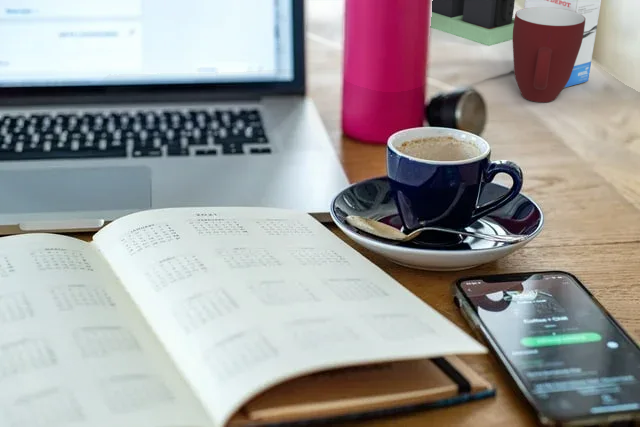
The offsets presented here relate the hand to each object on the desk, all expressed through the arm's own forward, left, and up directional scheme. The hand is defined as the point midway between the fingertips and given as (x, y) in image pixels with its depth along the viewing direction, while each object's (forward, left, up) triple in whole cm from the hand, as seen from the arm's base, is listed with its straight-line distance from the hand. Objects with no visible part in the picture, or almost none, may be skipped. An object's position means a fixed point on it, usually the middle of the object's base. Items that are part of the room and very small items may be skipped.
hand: (487, 18), depth 127 cm
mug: (+14, +21, -3) cm, 26 cm away
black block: (0, -7, -2) cm, 8 cm away
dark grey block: (0, 0, 0) cm, 0 cm away
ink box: (+6, +16, -3) cm, 18 cm away
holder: (0, -4, -3) cm, 5 cm away
